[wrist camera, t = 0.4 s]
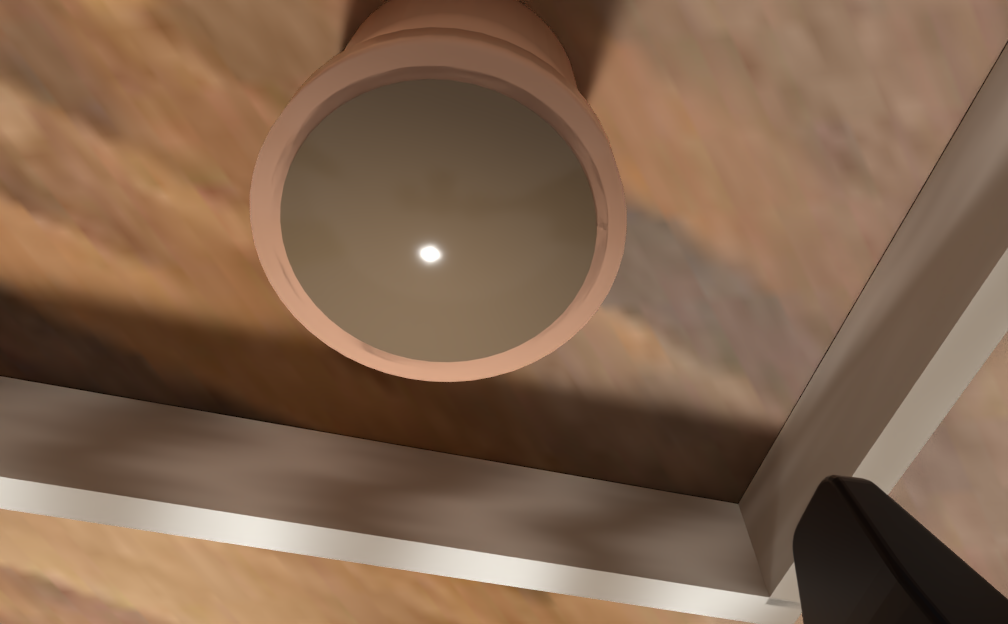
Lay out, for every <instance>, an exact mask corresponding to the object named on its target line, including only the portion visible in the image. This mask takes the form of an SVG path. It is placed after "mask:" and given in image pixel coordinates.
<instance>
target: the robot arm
mask: <svg viewBox="0 0 1008 624" xmlns="http://www.w3.org/2000/svg"><path fill="white" fill-rule="evenodd" d="M792 550H793V558H794V565H795V571H796V578H797V584H798V591H799V597H800V604H801V610H802V617H803V623H804V624H1008V599H1007V598H1006V597H1005V596H1003V595H1002V594H1001V593H1000V592H999V591H998V590H996V589H995V588H994V587H993V586H992V585H991V584H990V583H988V582H987V581H986V580H985V579H984V578H983V577H982V576H980V575H979V574H978V573H977V572H976V571H975V570H973V569H972V568H971V567H970V566H969V565H968V564H967V563H965V562H964V561H963V560H962V559H961V558H960V557H959V556H957V555H956V554H955V553H954V552H953V551H952V550H950V549H949V548H948V547H947V546H946V545H945V544H944V543H942V542H941V541H940V540H939V539H938V538H937V537H935V536H934V535H933V534H932V533H931V532H930V531H929V530H927V529H926V528H925V527H924V526H923V525H922V524H921V523H919V522H918V521H917V520H916V519H915V518H914V517H912V516H911V515H910V514H909V513H908V512H907V511H906V510H904V509H903V508H902V507H901V506H900V505H899V504H898V503H896V502H895V501H894V500H893V499H892V498H891V497H889V496H888V495H887V494H886V493H885V492H884V491H883V490H881V489H880V488H879V487H878V486H877V485H875V484H874V483H873V482H871V481H869V480H867V479H863V478H857V477H849V476H841V475H829V476H827V477H825V478H824V479H823V480H822V481H821V482H820V484H819V485H818V487H817V489H816V491H815V492H814V494H813V496H812V498H811V500H810V502H809V504H808V506H807V507H806V509H805V511H804V513H803V515H802V517H801V519H800V520H799V522H798V524H797V526H796V529H795V532H794V535H793V543H792Z"/></svg>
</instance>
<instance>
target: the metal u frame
mask: <svg viewBox="0 0 1008 624" xmlns="http://www.w3.org/2000/svg"><path fill="white" fill-rule="evenodd" d="M1007 331H1008V43H1007V45H1006V47H1005V49H1004V50H1003V52H1002V54H1001V55H1000V57H999V59H998V61H997V62H996V64H995V66H994V67H993V69H992V71H991V73H990V74H989V76H988V78H987V79H986V81H985V83H984V85H983V86H982V88H981V90H980V91H979V93H978V95H977V96H976V98H975V100H974V102H973V103H972V105H971V107H970V108H969V110H968V112H967V114H966V115H965V117H964V119H963V120H962V122H961V124H960V126H959V127H958V129H957V131H956V132H955V134H954V136H953V138H952V139H951V141H950V143H949V144H948V146H947V148H946V150H945V151H944V153H943V155H942V156H941V158H940V160H939V161H938V163H937V165H936V167H935V168H934V170H933V172H932V173H931V175H930V177H929V179H928V180H927V182H926V184H925V185H924V187H923V189H922V191H921V192H920V194H919V196H918V197H917V199H916V201H915V203H914V204H913V206H912V208H911V209H910V211H909V213H908V215H907V216H906V218H905V220H904V221H903V223H902V225H901V227H900V228H899V230H898V232H897V233H896V235H895V237H894V238H893V240H892V242H891V244H890V245H889V247H888V249H887V250H886V252H885V254H884V256H883V257H882V259H881V261H880V262H879V264H878V266H877V268H876V269H875V271H874V273H873V274H872V276H871V278H870V280H869V281H868V283H867V285H866V286H865V288H864V290H863V292H862V293H861V295H860V297H859V298H858V300H857V302H856V303H855V305H854V307H853V309H852V310H851V312H850V314H849V315H848V317H847V319H846V321H845V322H844V324H843V326H842V327H841V329H840V331H839V333H838V334H837V336H836V338H835V339H834V341H833V343H832V345H831V346H830V348H829V350H828V351H827V353H826V355H825V357H824V358H823V360H822V362H821V363H820V365H819V367H818V368H817V370H816V372H815V374H814V375H813V377H812V379H811V380H810V382H809V384H808V386H807V387H806V389H805V391H804V392H803V394H802V396H801V398H800V399H799V401H798V403H797V404H796V406H795V408H794V410H793V411H792V413H791V415H790V416H789V418H788V420H787V422H786V423H785V425H784V427H783V428H782V430H781V432H780V434H779V435H778V437H777V439H776V440H775V442H774V444H773V445H772V447H771V449H770V451H769V452H768V454H767V456H766V457H765V459H764V461H763V463H762V464H761V466H760V468H759V469H758V471H757V473H756V475H755V476H754V478H753V480H752V481H751V483H750V485H749V487H748V488H747V490H746V492H745V493H744V495H743V497H742V499H741V500H740V502H739V504H735V503H729V502H724V501H718V500H712V499H706V498H701V497H695V496H689V495H683V494H677V493H672V492H666V491H660V490H654V489H649V488H643V487H637V486H631V485H625V484H620V483H614V482H608V481H602V480H597V479H591V478H585V477H579V476H574V475H568V474H562V473H556V472H550V471H545V470H539V469H533V468H527V467H522V466H516V465H510V464H504V463H498V462H493V461H487V460H481V459H475V458H470V457H464V456H458V455H452V454H447V453H441V452H435V451H429V450H423V449H418V448H412V447H406V446H400V445H395V444H389V443H383V442H377V441H372V440H366V439H360V438H354V437H348V436H343V435H337V434H331V433H325V432H320V431H314V430H308V429H302V428H296V427H291V426H285V425H279V424H273V423H268V422H262V421H256V420H250V419H245V418H239V417H233V416H227V415H221V414H216V413H210V412H204V411H198V410H193V409H187V408H181V407H175V406H169V405H164V404H158V403H152V402H146V401H141V400H135V399H129V398H123V397H118V396H112V395H106V394H100V393H94V392H89V391H83V390H77V389H71V388H66V387H60V386H54V385H48V384H43V383H37V382H31V381H25V380H19V379H14V378H8V377H2V376H0V509H7V510H14V511H20V512H27V513H33V514H40V515H46V516H53V517H60V518H66V519H73V520H79V521H86V522H93V523H99V524H106V525H112V526H119V527H125V528H132V529H139V530H145V531H152V532H158V533H165V534H171V535H178V536H185V537H191V538H198V539H204V540H211V541H218V542H224V543H231V544H237V545H244V546H250V547H257V548H264V549H270V550H277V551H283V552H290V553H297V554H303V555H310V556H316V557H323V558H329V559H336V560H343V561H349V562H356V563H362V564H369V565H375V566H382V567H389V568H395V569H402V570H408V571H415V572H422V573H428V574H435V575H441V576H448V577H454V578H461V579H468V580H474V581H481V582H487V583H494V584H501V585H507V586H514V587H520V588H527V589H533V590H540V591H547V592H553V593H560V594H566V595H573V596H579V597H586V598H593V599H599V600H606V601H612V602H619V603H626V604H632V605H639V606H645V607H652V608H658V609H665V610H672V611H678V612H685V613H691V614H698V615H705V616H711V617H718V618H724V619H731V620H737V621H744V622H751V623H757V624H794V623H795V621H796V620H797V619H798V617H799V616H800V615H801V613H802V610H801V604H800V597H799V591H798V584H797V578H796V571H795V565H794V558H793V550H792V543H793V535H794V532H795V529H796V526H797V524H798V522H799V520H800V519H801V517H802V515H803V513H804V511H805V509H806V507H807V506H808V504H809V502H810V500H811V498H812V496H813V494H814V492H815V491H816V489H817V487H818V485H819V484H820V482H821V481H822V480H823V479H824V478H825V477H827V476H829V475H841V476H849V477H857V478H863V479H867V480H869V481H871V482H873V483H874V484H875V485H877V486H878V487H879V488H880V489H881V490H883V491H884V492H885V493H886V494H887V495H888V494H889V493H890V491H891V490H892V488H893V487H894V486H895V484H896V483H897V482H898V480H899V479H900V478H901V476H902V475H903V473H904V472H905V471H906V469H907V468H908V467H909V465H910V464H911V462H912V461H913V460H914V458H915V457H916V456H917V454H918V453H919V451H920V450H921V449H922V447H923V446H924V445H925V443H926V442H927V441H928V439H929V438H930V436H931V435H932V434H933V432H934V431H935V430H936V428H937V427H938V425H939V424H940V423H941V421H942V420H943V419H944V417H945V416H946V414H947V413H948V412H949V410H950V409H951V408H952V406H953V405H954V404H955V402H956V401H957V399H958V398H959V397H960V395H961V394H962V393H963V391H964V390H965V388H966V387H967V386H968V384H969V383H970V382H971V380H972V379H973V377H974V376H975V375H976V373H977V372H978V371H979V369H980V368H981V367H982V365H983V364H984V362H985V361H986V360H987V358H988V357H989V356H990V354H991V353H992V351H993V350H994V349H995V347H996V346H997V345H998V343H999V342H1000V340H1001V339H1002V338H1003V336H1004V335H1005V334H1006V332H1007Z"/></svg>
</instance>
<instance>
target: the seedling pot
mask: <svg viewBox="0 0 1008 624" xmlns="http://www.w3.org/2000/svg"><path fill="white" fill-rule="evenodd" d="M250 221H251V228H252V234H253V240H254V244H255V247H256V250H257V253H258V257H259V260H260V263H261V265H262V267H263V269H264V271H265V273H266V276H267V278H268V280H269V282H270V283H271V285H272V287H273V288H274V290H275V291H276V293H277V295H278V296H279V298H280V299H281V301H282V302H283V303H284V304H285V306H286V307H287V308H288V309H289V311H290V312H291V313H292V314H293V316H294V317H295V318H296V319H297V320H298V321H299V322H300V323H301V324H303V325H304V326H305V327H306V328H307V329H308V330H309V331H310V332H311V333H312V334H314V335H315V336H316V337H317V338H319V339H320V340H321V341H323V342H324V343H325V344H326V345H328V346H329V347H331V348H333V349H334V350H336V351H338V352H339V353H341V354H343V355H344V356H346V357H348V358H350V359H352V360H354V361H356V362H358V363H361V364H363V365H365V366H367V367H370V368H373V369H376V370H379V371H381V372H384V373H387V374H392V375H396V376H400V377H404V378H409V379H416V380H424V381H437V382H457V381H471V380H477V379H483V378H489V377H494V376H497V375H501V374H504V373H508V372H511V371H514V370H517V369H519V368H522V367H524V366H526V365H529V364H531V363H534V362H535V361H537V360H539V359H541V358H543V357H544V356H546V355H548V354H550V353H552V352H553V351H554V350H556V349H557V348H559V347H560V346H561V345H563V344H564V343H566V342H567V341H568V340H570V339H571V338H572V337H573V336H574V335H575V334H576V333H577V332H578V331H579V330H580V329H581V328H582V327H584V326H585V324H586V323H587V322H588V321H589V320H590V318H591V317H592V316H593V315H594V314H595V312H596V311H597V310H598V308H599V307H600V305H601V304H602V302H603V301H604V299H605V297H606V296H607V294H608V293H609V291H610V288H611V286H612V284H613V282H614V280H615V278H616V275H617V273H618V270H619V266H620V263H621V260H622V256H623V253H624V246H625V239H626V232H627V209H626V202H625V196H624V189H623V185H622V181H621V178H620V175H619V171H618V168H617V165H616V162H615V158H614V155H613V152H612V149H611V146H610V142H609V140H608V138H607V136H606V133H605V131H604V129H603V127H602V125H601V123H600V121H599V119H598V117H597V116H596V114H595V113H594V111H593V110H592V108H591V107H590V105H589V104H588V102H587V101H586V99H585V98H584V97H583V96H582V95H581V94H580V93H579V91H578V87H577V83H576V79H575V76H574V73H573V70H572V67H571V63H570V61H569V59H568V57H567V55H566V53H565V50H564V48H563V47H562V45H561V44H560V42H559V41H558V39H557V37H556V36H555V34H554V33H553V32H552V31H551V30H550V28H549V27H548V26H547V25H546V24H545V23H544V21H543V20H541V19H540V18H539V17H538V16H537V15H536V14H535V13H534V12H532V11H531V10H530V9H529V8H527V7H526V6H524V5H523V4H521V3H520V2H518V1H517V0H390V1H388V2H386V3H384V4H383V5H382V6H381V7H379V8H378V9H377V10H376V11H374V12H373V13H372V14H371V15H370V16H369V17H368V18H367V19H366V20H365V21H364V22H363V23H362V24H361V25H360V26H359V28H358V29H357V31H356V32H355V34H354V35H353V36H352V38H351V39H350V41H349V42H348V44H347V46H346V47H345V49H344V51H343V52H341V53H340V54H338V55H336V56H334V57H333V58H332V59H330V60H329V61H328V62H327V63H325V64H324V65H323V66H321V67H320V68H319V69H318V70H316V71H315V72H314V73H313V74H312V75H311V76H310V77H309V78H308V79H307V80H306V81H305V82H304V84H303V85H302V86H301V87H300V88H299V89H298V90H297V92H296V93H295V95H294V96H293V97H292V99H291V100H290V102H289V103H288V105H287V106H286V107H285V109H284V110H283V112H282V113H281V115H280V116H279V118H278V119H277V121H276V122H275V123H274V125H273V126H272V128H271V129H270V131H269V133H268V135H267V137H266V139H265V141H264V143H263V145H262V148H261V150H260V152H259V155H258V159H257V162H256V165H255V168H254V172H253V177H252V184H251V191H250Z"/></svg>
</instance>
